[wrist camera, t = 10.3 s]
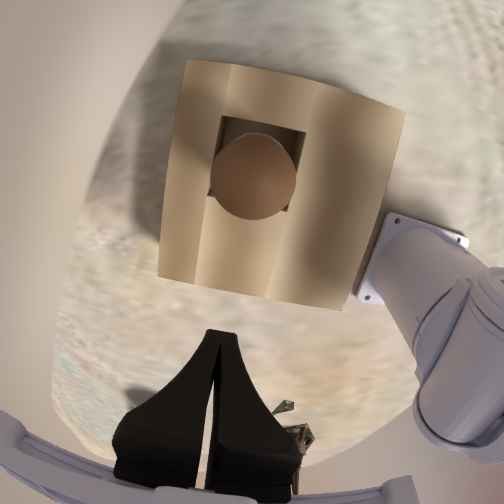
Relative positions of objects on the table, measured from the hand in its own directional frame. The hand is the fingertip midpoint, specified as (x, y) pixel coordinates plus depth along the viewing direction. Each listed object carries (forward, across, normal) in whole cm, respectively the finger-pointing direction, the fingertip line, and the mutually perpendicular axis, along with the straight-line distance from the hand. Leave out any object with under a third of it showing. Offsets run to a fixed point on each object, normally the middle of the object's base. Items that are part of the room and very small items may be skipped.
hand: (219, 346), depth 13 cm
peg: (+10, 0, -8) cm, 12 cm away
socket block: (+10, -2, -6) cm, 12 cm away
